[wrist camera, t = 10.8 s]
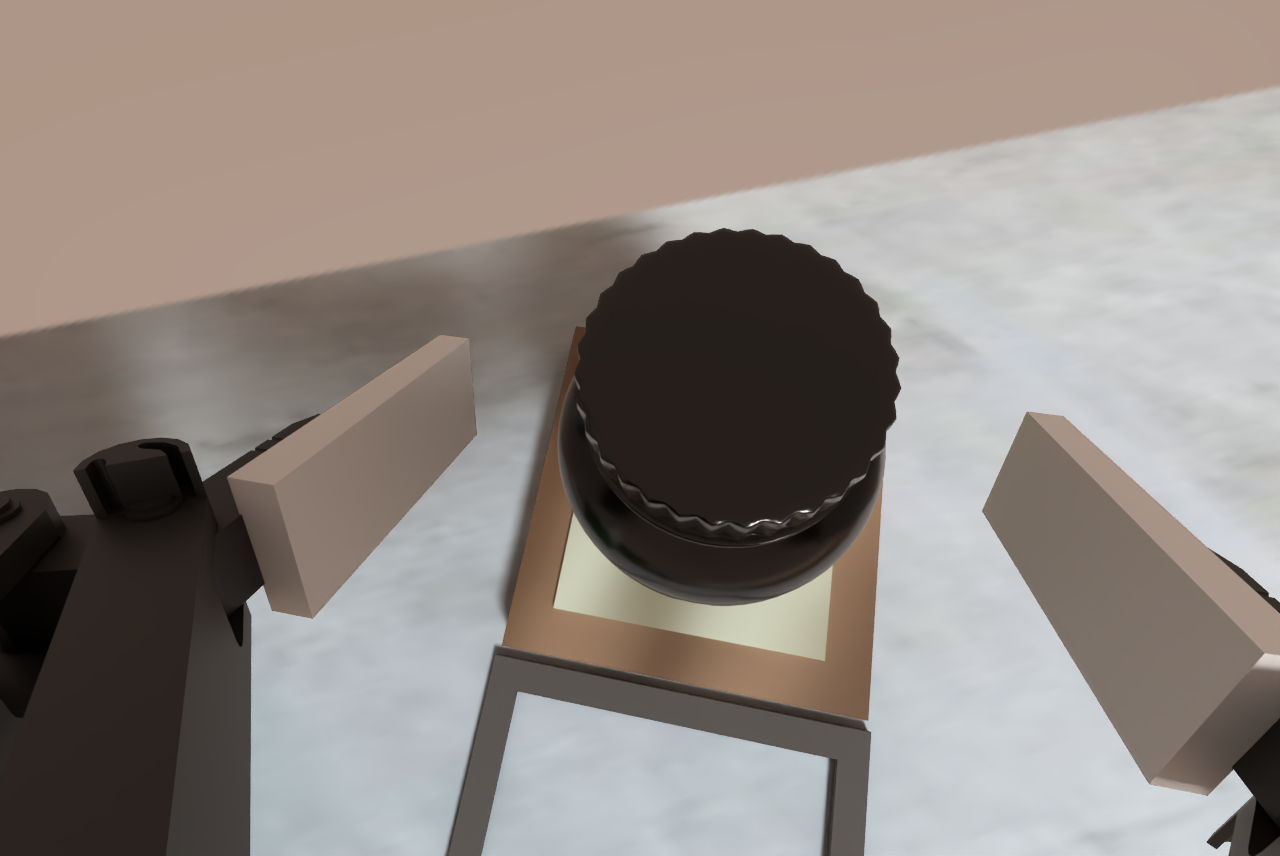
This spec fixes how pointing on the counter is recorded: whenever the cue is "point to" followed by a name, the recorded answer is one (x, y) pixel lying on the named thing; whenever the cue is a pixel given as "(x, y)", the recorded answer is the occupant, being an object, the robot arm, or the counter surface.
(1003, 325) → the counter surface
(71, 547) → the robot arm
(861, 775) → the ring
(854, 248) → the counter surface
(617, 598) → the walnut board
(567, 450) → the supplement bottle
